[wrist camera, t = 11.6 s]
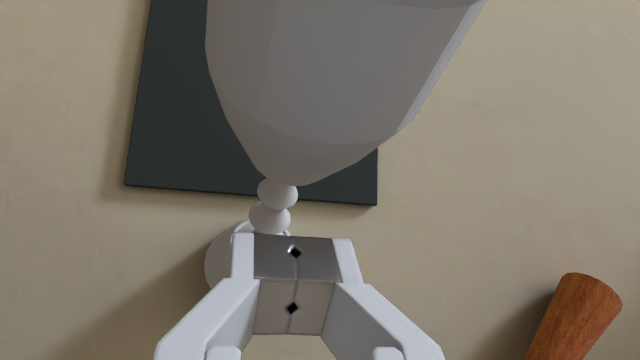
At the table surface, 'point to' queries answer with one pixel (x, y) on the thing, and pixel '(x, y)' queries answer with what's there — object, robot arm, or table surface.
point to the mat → (205, 122)
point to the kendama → (574, 318)
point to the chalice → (320, 87)
